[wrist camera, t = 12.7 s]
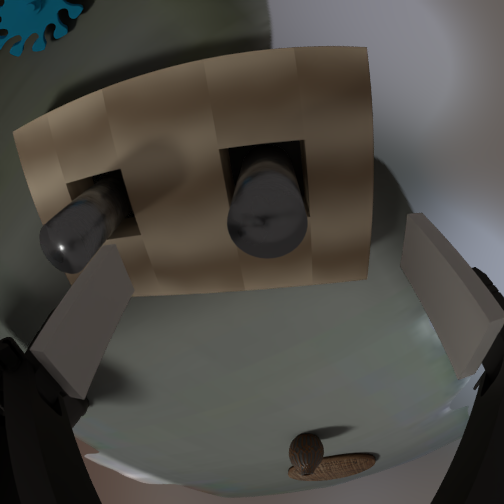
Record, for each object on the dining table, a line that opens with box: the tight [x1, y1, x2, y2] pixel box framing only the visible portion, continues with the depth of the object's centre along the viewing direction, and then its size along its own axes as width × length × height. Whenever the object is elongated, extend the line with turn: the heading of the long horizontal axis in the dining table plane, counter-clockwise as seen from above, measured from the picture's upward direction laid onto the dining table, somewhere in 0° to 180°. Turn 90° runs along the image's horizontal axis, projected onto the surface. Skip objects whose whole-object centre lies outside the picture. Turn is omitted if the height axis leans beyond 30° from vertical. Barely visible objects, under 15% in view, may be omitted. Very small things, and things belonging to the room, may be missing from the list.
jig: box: [13, 46, 374, 297], centre depth 22 cm, size 18×28×4 cm, turn 98°
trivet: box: [288, 453, 375, 481], centre depth 65 cm, size 25×25×2 cm
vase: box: [289, 434, 324, 476], centre depth 47 cm, size 7×7×9 cm
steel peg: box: [227, 144, 308, 259], centre depth 19 cm, size 4×4×10 cm
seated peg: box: [40, 169, 133, 274], centre depth 20 cm, size 4×4×10 cm
